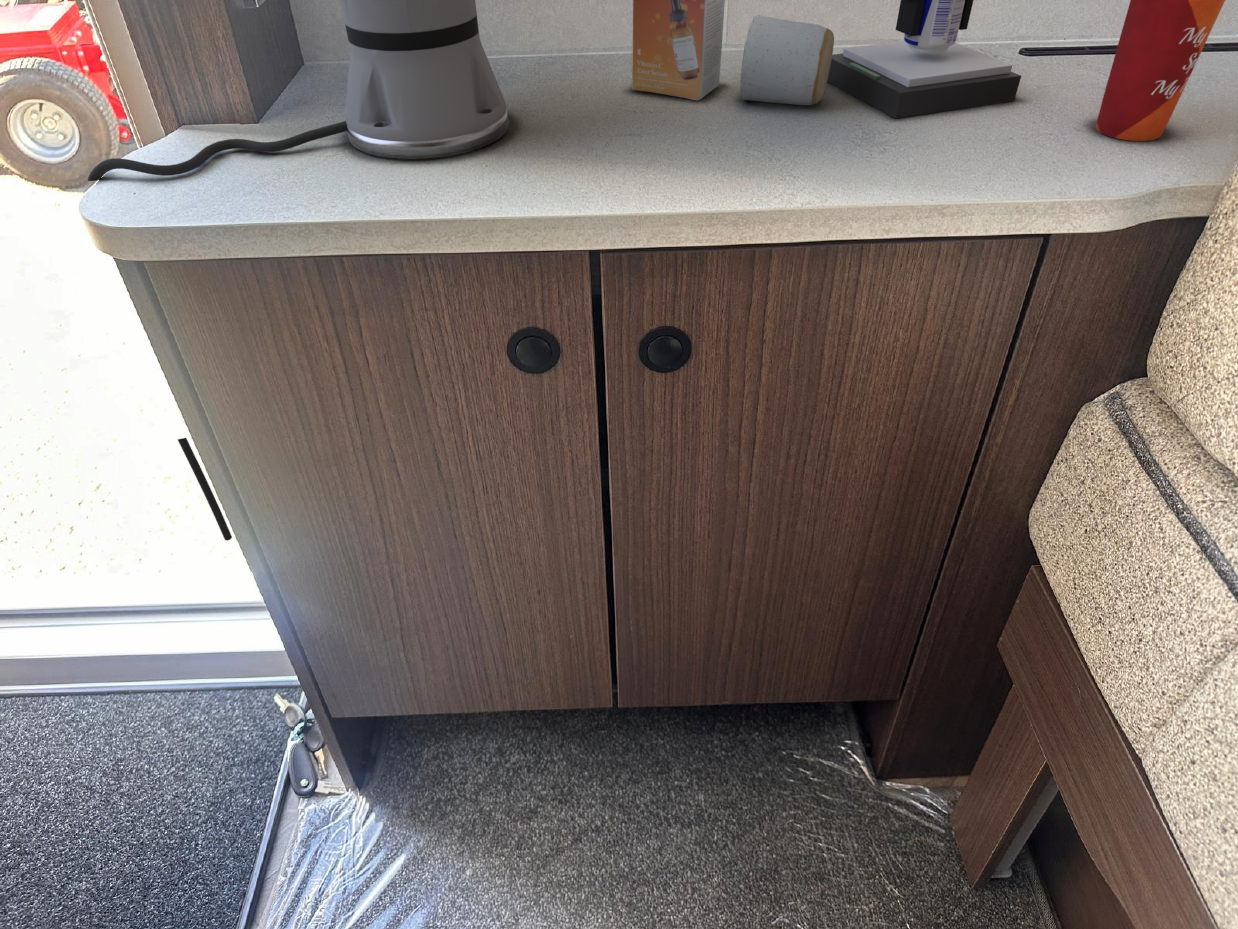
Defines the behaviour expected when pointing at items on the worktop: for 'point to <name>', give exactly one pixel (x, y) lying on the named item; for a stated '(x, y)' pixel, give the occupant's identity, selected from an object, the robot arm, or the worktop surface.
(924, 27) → the beverage can
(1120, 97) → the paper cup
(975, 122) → the worktop surface
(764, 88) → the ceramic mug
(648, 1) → the small box
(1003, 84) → the scale
